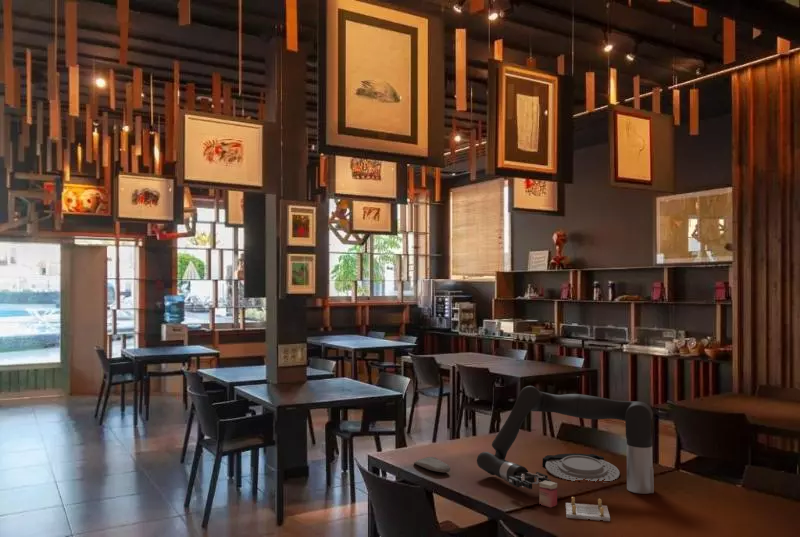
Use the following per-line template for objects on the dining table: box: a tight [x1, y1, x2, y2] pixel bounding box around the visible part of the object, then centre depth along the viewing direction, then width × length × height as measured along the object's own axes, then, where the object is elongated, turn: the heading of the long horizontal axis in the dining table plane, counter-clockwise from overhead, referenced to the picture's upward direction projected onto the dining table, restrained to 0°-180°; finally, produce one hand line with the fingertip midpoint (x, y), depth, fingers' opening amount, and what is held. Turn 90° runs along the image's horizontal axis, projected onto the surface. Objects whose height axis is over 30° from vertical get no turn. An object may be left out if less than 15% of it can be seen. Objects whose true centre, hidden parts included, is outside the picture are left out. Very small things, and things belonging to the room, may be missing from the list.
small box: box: [538, 480, 558, 508], centre depth 231 cm, size 5×4×8 cm
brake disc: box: [541, 452, 621, 482], centre depth 273 cm, size 32×30×5 cm
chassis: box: [565, 496, 611, 522], centre depth 222 cm, size 14×12×4 cm
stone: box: [413, 456, 451, 473], centre depth 276 cm, size 24×4×10 cm
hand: (541, 484), depth 235 cm, fingers open, 8 cm apart
